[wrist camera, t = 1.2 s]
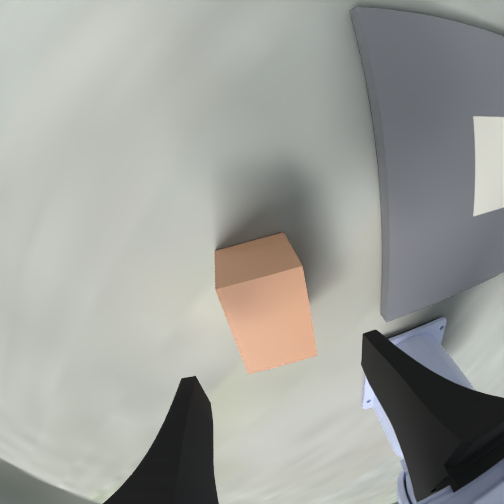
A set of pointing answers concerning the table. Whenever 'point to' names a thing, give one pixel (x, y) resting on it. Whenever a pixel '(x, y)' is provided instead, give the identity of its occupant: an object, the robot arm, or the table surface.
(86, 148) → the table surface
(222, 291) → the brick terracotta
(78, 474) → the table surface
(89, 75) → the table surface
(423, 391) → the robot arm
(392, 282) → the tower board
